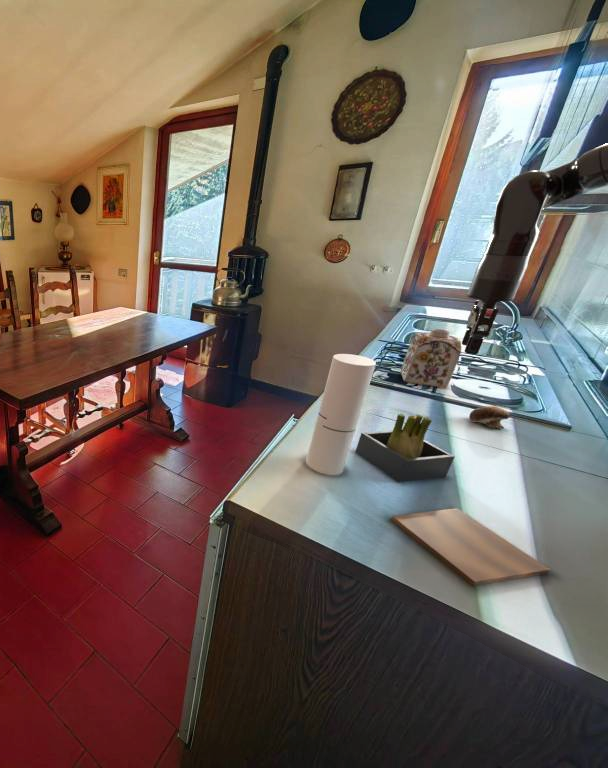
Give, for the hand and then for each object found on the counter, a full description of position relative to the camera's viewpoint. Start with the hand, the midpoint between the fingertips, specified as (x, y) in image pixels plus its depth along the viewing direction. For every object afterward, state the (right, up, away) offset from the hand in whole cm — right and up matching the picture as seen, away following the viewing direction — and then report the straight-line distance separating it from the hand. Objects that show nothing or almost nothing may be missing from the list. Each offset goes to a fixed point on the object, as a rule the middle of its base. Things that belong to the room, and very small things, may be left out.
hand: (468, 349), depth 89 cm
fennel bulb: (-19, -26, -3) cm, 32 cm away
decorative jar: (+28, -7, +46) cm, 54 cm away
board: (-25, -35, -25) cm, 50 cm away
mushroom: (+19, -19, +16) cm, 31 cm away
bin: (-19, -26, -3) cm, 32 cm away
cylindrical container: (-36, -27, -4) cm, 45 cm away
